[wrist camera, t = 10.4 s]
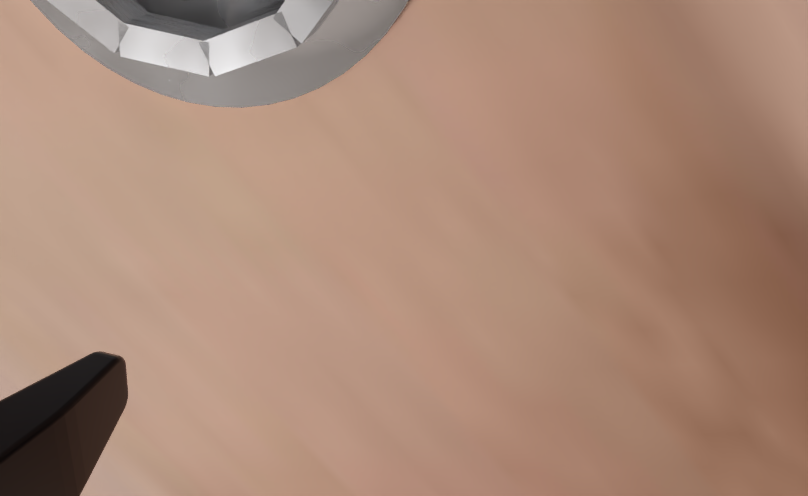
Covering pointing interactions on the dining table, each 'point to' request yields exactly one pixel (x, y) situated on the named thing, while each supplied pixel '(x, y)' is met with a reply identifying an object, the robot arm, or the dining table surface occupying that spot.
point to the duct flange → (225, 43)
